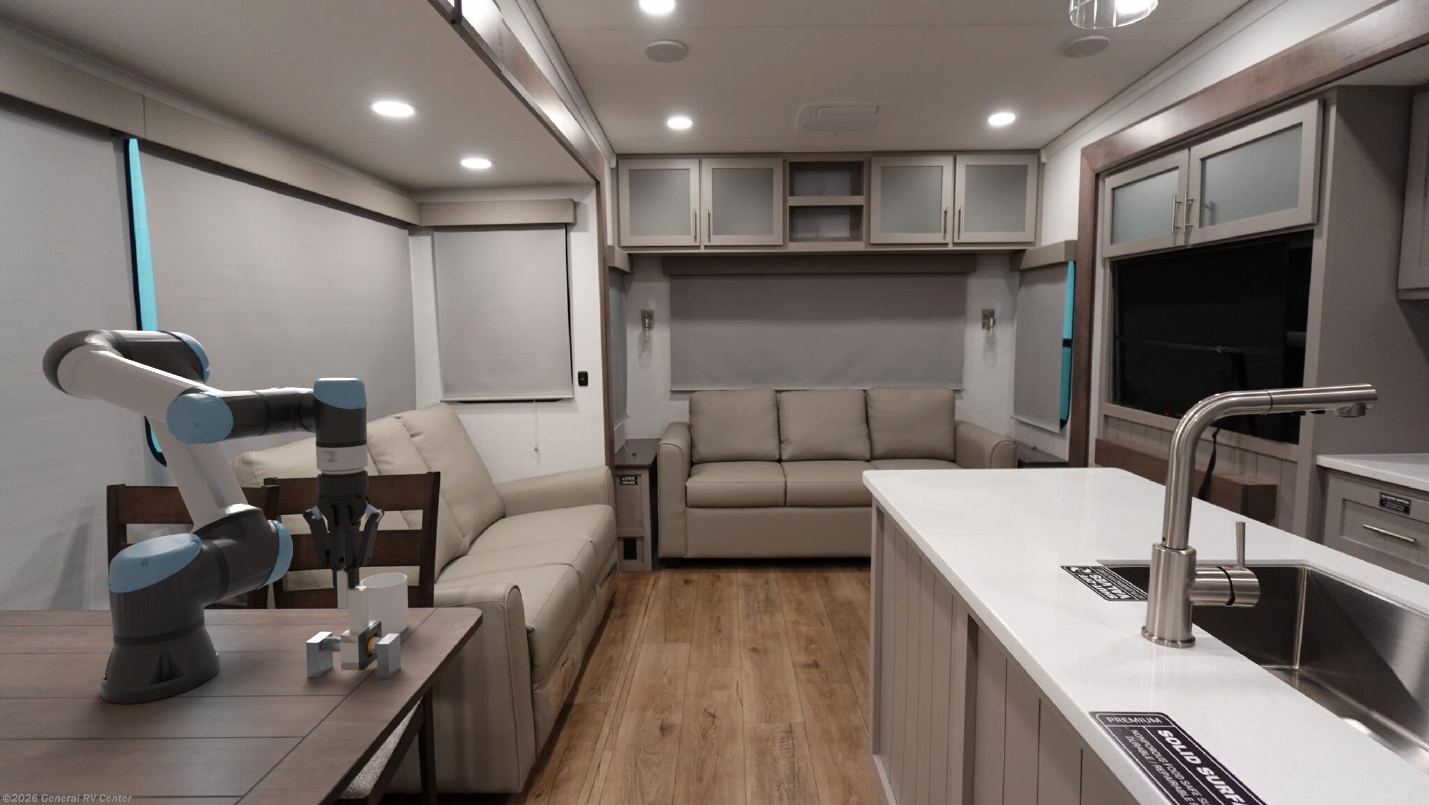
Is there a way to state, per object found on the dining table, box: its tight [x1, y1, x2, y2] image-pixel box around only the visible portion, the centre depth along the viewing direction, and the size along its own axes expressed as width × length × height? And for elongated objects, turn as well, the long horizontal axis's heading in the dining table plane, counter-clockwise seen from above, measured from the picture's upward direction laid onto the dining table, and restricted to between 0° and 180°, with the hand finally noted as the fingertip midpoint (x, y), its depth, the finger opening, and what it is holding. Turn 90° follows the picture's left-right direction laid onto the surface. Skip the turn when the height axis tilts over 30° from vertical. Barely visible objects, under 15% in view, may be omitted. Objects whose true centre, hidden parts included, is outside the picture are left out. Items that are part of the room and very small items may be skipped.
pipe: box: [305, 631, 402, 680], centre depth 113 cm, size 14×4×6 cm, turn 89°
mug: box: [359, 572, 409, 638], centre depth 128 cm, size 12×8×10 cm
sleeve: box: [339, 585, 382, 671], centre depth 113 cm, size 4×6×13 cm, turn 179°
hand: (346, 605), depth 112 cm, fingers closed
